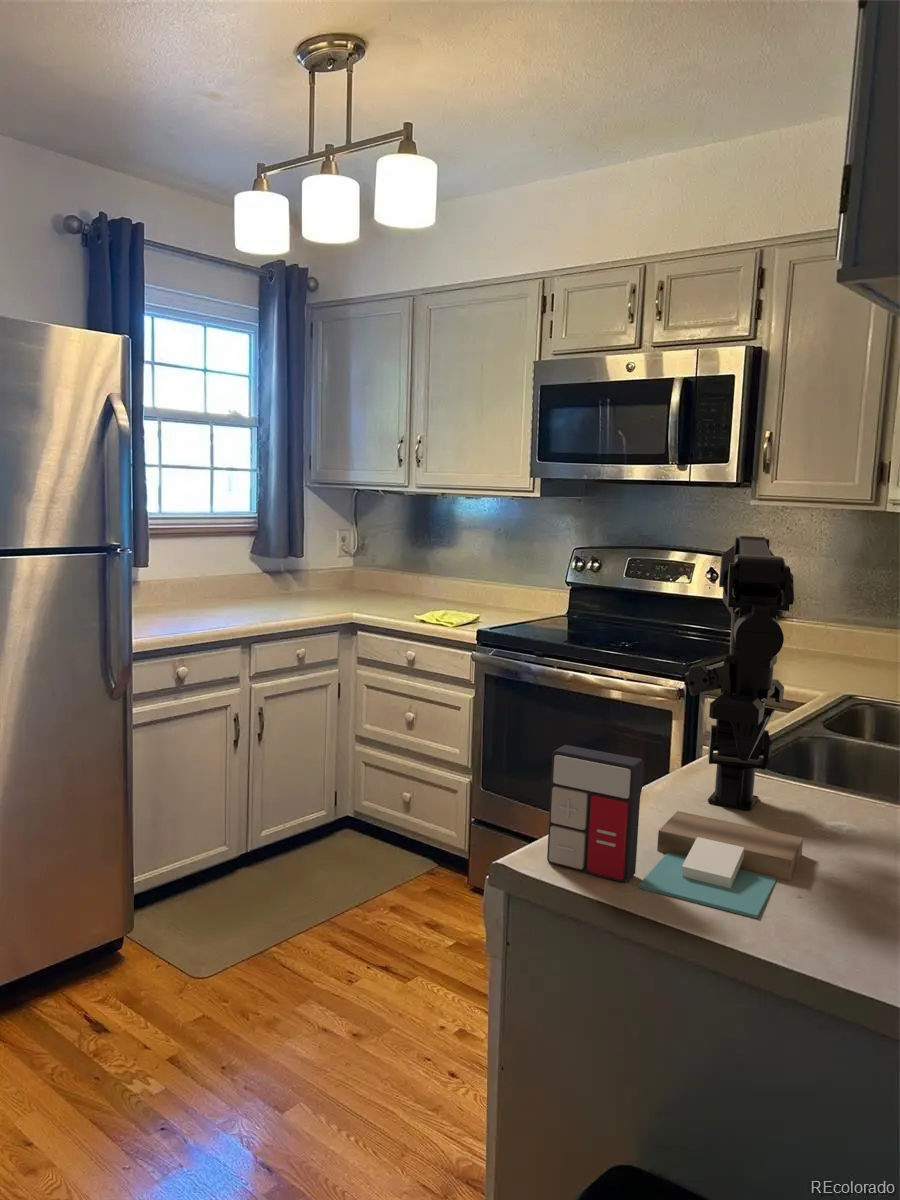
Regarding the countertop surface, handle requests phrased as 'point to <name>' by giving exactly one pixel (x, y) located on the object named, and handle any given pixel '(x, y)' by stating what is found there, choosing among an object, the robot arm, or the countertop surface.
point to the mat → (710, 887)
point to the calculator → (594, 812)
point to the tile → (713, 862)
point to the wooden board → (734, 843)
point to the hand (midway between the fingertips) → (743, 759)
